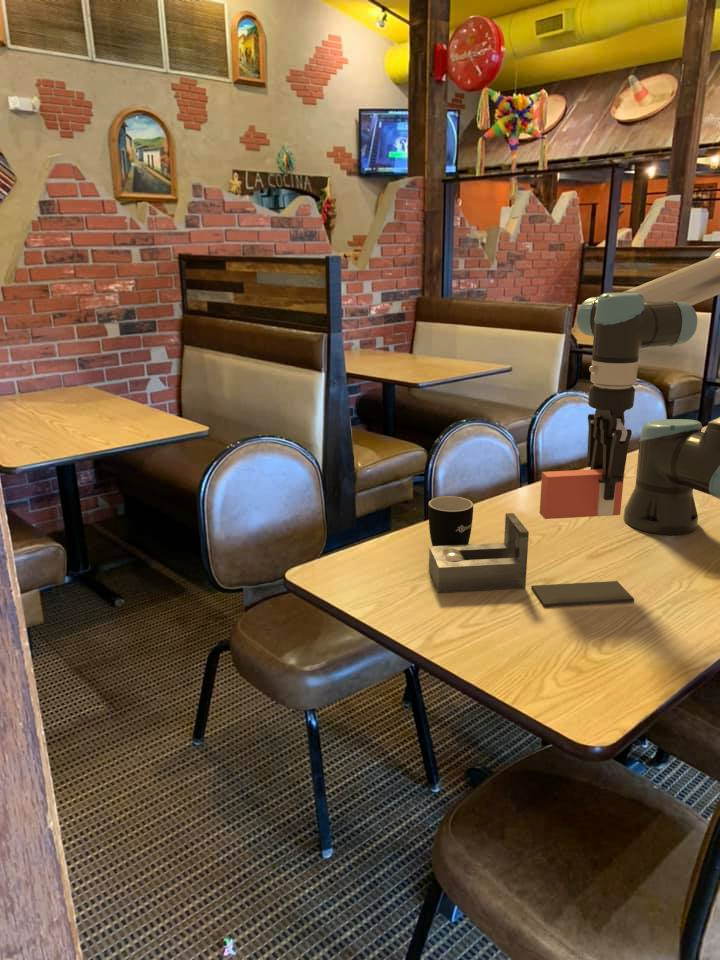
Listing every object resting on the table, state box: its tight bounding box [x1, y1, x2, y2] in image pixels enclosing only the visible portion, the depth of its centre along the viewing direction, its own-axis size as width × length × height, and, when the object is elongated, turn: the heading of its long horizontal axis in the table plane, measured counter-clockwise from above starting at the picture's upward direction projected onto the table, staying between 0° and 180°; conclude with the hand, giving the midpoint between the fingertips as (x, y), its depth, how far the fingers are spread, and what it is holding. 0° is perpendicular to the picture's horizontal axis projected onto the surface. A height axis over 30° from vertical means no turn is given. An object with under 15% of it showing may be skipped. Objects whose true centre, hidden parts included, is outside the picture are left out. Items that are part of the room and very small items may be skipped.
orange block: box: [539, 469, 625, 520], centre depth 131 cm, size 14×3×8 cm, turn 95°
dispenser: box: [428, 512, 530, 594], centre depth 133 cm, size 16×10×11 cm, turn 95°
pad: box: [530, 580, 635, 608], centre depth 128 cm, size 16×7×1 cm, turn 95°
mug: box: [427, 495, 474, 546], centre depth 147 cm, size 12×9×10 cm
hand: (600, 511), depth 132 cm, fingers closed on orange block, 3 cm apart
